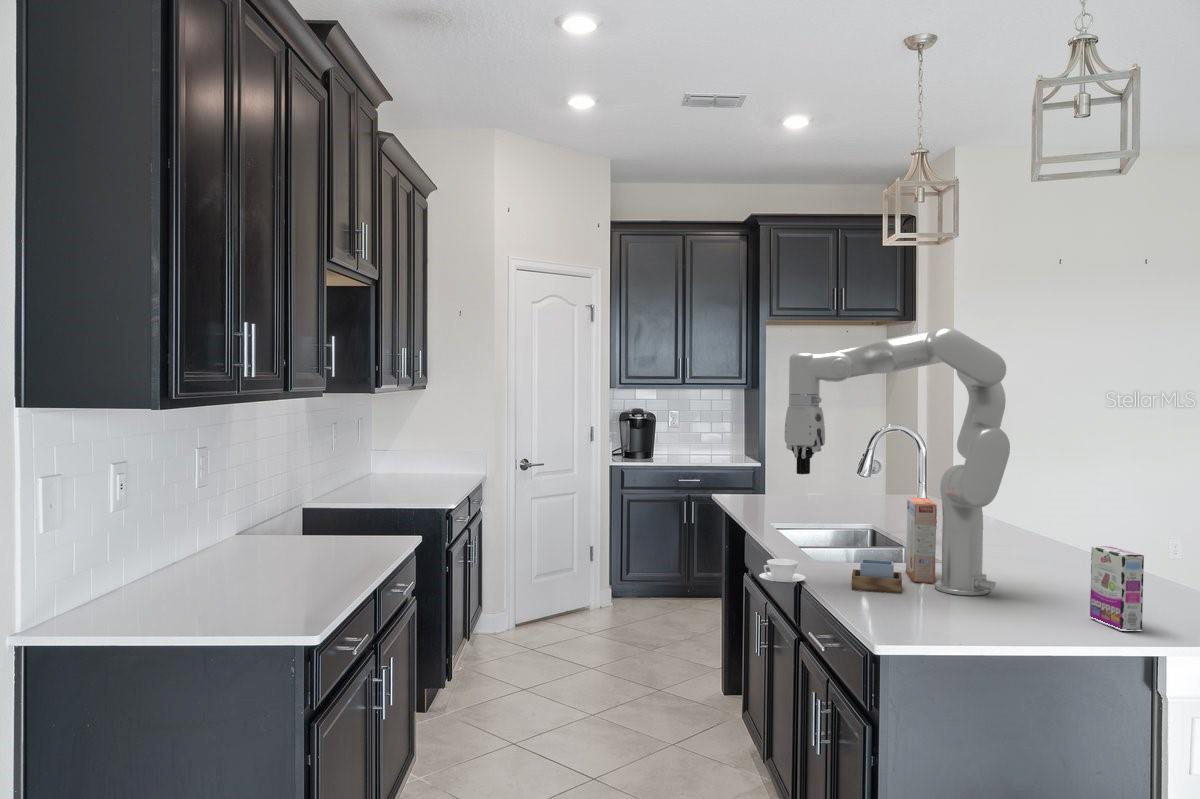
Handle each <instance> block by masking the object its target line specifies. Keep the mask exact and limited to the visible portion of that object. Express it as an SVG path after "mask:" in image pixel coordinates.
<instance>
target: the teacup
mask: <svg viewBox="0 0 1200 799" xmlns="http://www.w3.org/2000/svg"><path fill="white" fill-rule="evenodd" d="M766 563H767V564H764V565H763V570H764V572H762V573H760V574H759V575H758V576H759V578H761V579H762V580H766V581H770V582H771V581H772V582H773V583H777V584H790V583H797V582H802V581H804V580H807V579H806V578H807V577H806V576H805V575H803V574H801V573H796V569H797V568H798V565H799V562H798V561H797V560H794V559H788V558H771V559H768V560H766ZM767 569H769V571H768V570H767Z"/></svg>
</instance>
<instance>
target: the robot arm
mask: <svg viewBox="0 0 1200 799" xmlns="http://www.w3.org/2000/svg"><path fill="white" fill-rule="evenodd" d="M788 363H789V365H788V366H789V367H788V368H789V370H788V371H789V372H788V406H787V408H786V409H787V410H786V414H785V421H784V442H785V444H786V446H785V447H786V449H787V450H789V451H792V452H793V455H794V458H795V459H796V474H797V475H810V473H811V459H812V458H813V455H814V454H815V453H818V452H821V451H822V447H823V446H824V445H825V443H826V432H825V431H826V428H825V427H826V426H825V418H824V412H823V407H820V404H821V403H822V398H821V396H820V381H825V382H828V383H829V382H831V383H837V382H838V383H839V382H842V381H845V380H847V379H850V378H854V377H856V378H857V377H859V376H860V377H861V376H865V375H874V374H876V375H877V374H880V375H881V374H889V373H894V372H895V373H896V372H901V371H906V370H910V369H915V368H920V367H924V366H931V365H935V364H940V363H944V364H946V365H948V366H949V367H951V368H953V369H954V370H956V375H957V377H958V379H959V381H960V382H962V384H963V385H964V386H965V388H966V390H967V394H968V404H967V408H966V413H965V414H964V415H965V416H964V419H963V422H962V426H961V429H960V431H959V434H958V437H957V442H956V449H957V451H958V453H959V454H960V455H961V457H962V458H964V459H965V461H964V464H957V465H953V466H951V467H949V468H947V469H946V470H945V472H944V473H943V475H942V476H941V479H940V488H939V489H940V498H941V505H942V506H941V507H942V530H941V533H942V534H941V535H942V536H941V537H942V538H941V543H942V544H941V546H942V547H941V580H940V581H936V582H935V583H934V588H935V590H937V591H940V592H942V593H947V594H951V595H957V596H984V595H987V594H988V593H989V592H990V591H994V590H995V588H996V585H997V584H996V581H992V580H988V579H987V574H986V573H983V553H984V552H983V550H984V549H983V547H984V545H983V542H984V535H983V533H984V513H983V512H984V511H983V508H984V507H986V506H988V505H990V504H991V503H992V502H993V501H994V500H995V498H996V497H997V495H998V492H999V489H1000V486H1001V483H1002V480H1003V478H1004V474H1005V471H1006V467H1007V465H1008V461H1009V458H1010V453H1011V452H1010V451H1011V443H1010V439H1009V436H1008V435H1007V433H1006V432H1004V430H1003V429H1001V426H1002V422H1003V417H1004V414H1005V408H1006V401H1007V400H1006V392H1005V390H1004V386H1003V384H1002V381H1003V379H1004V378H1005V377H1006V375H1007V364H1006V362H1005V360H1004V359H1003V357H1002V356H1001V355H1000V354H999V353H997V352H995V351H994V350H992V349H990V348H989V347H987V346H986V345H983V344H982V343H980V342H978V341H977V340H975V339H974V338H971V336H968V335H967V334H966V333H963V332H961V331H960V330H957V329H955V328H952V327H943V328H935V329H931V330H927V331H926V330H925V331H922V332H916V333H911V334H906V335H902V336H901V335H900V336H895V337H892V338H891V337H890V338H886V339H881V340H879V341H875V342H872V343H868V344H865V345H861V346H857V347H851V348H846V349H842V350H837V351H832V352H826V353H825V352H824V353H814V352H796V353H795V352H794V353H792V354H791V355H790V356H789V362H788Z"/></svg>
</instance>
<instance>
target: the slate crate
mask: <svg viewBox="0 0 1200 799" xmlns="http://www.w3.org/2000/svg"><path fill="white" fill-rule="evenodd" d="M859 564H860V568H859V570H860V576H864V577H878V578H893V575H894V572H895V571H894V569H895V568H894V566H895V564H894V561H893V560H882V559H881V560H880V559H868V558H867V559H864V558H861V559H860V563H859Z"/></svg>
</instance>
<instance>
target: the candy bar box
mask: <svg viewBox="0 0 1200 799" xmlns="http://www.w3.org/2000/svg"><path fill="white" fill-rule="evenodd" d="M1144 558H1145V555H1143V554H1141V553H1136V552H1132V551H1129V550H1125V549H1121V548H1117V547H1113V546H1106V545H1105V546H1103V545H1102V546H1101V545H1099V546H1091V558H1090V561H1091V562H1090V598H1089V599H1090V604H1089V605H1090V606H1089V607H1090V608H1089V617H1090V616H1091V617H1093V618H1096V619H1098V620H1101V621H1103V622H1105V623H1108V624H1110V625H1113V626H1115V627H1118V628H1120V629H1126V630H1142V631H1143V604H1144V602H1143V601H1144V598H1143V597H1144V595H1143V594H1144V571H1145V570H1144V567H1145V563H1144V562H1145V560H1144Z"/></svg>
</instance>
